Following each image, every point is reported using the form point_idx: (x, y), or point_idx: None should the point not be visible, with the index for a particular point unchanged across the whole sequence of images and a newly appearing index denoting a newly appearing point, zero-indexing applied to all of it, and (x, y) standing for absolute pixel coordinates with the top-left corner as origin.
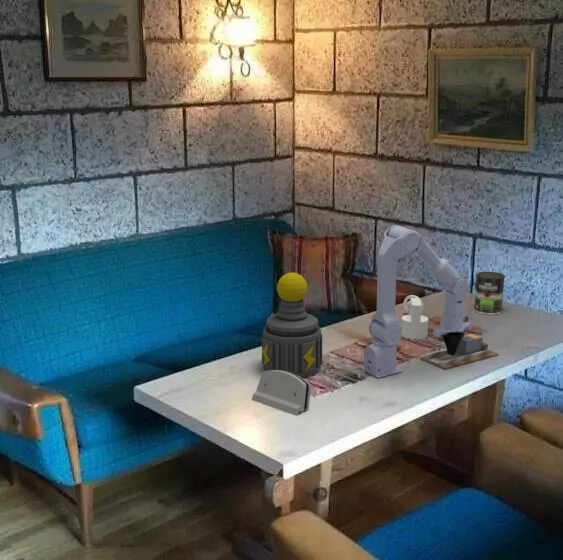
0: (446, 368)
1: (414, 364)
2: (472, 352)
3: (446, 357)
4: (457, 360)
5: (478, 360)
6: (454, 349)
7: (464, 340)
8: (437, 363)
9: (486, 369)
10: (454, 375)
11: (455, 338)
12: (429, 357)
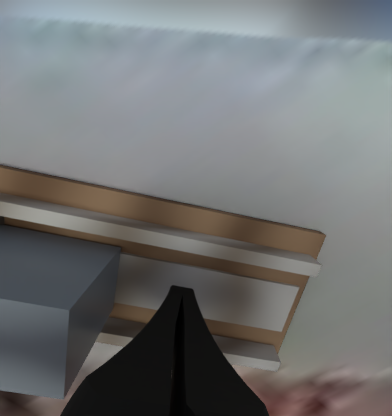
0: (312, 231)
1: (335, 345)
2: (63, 243)
3: (201, 300)
4: (215, 239)
5: (92, 185)
6: (184, 307)
7: (62, 333)
8: (299, 287)
9: (168, 76)
10: (360, 157)
11: (220, 395)
12: (256, 345)
